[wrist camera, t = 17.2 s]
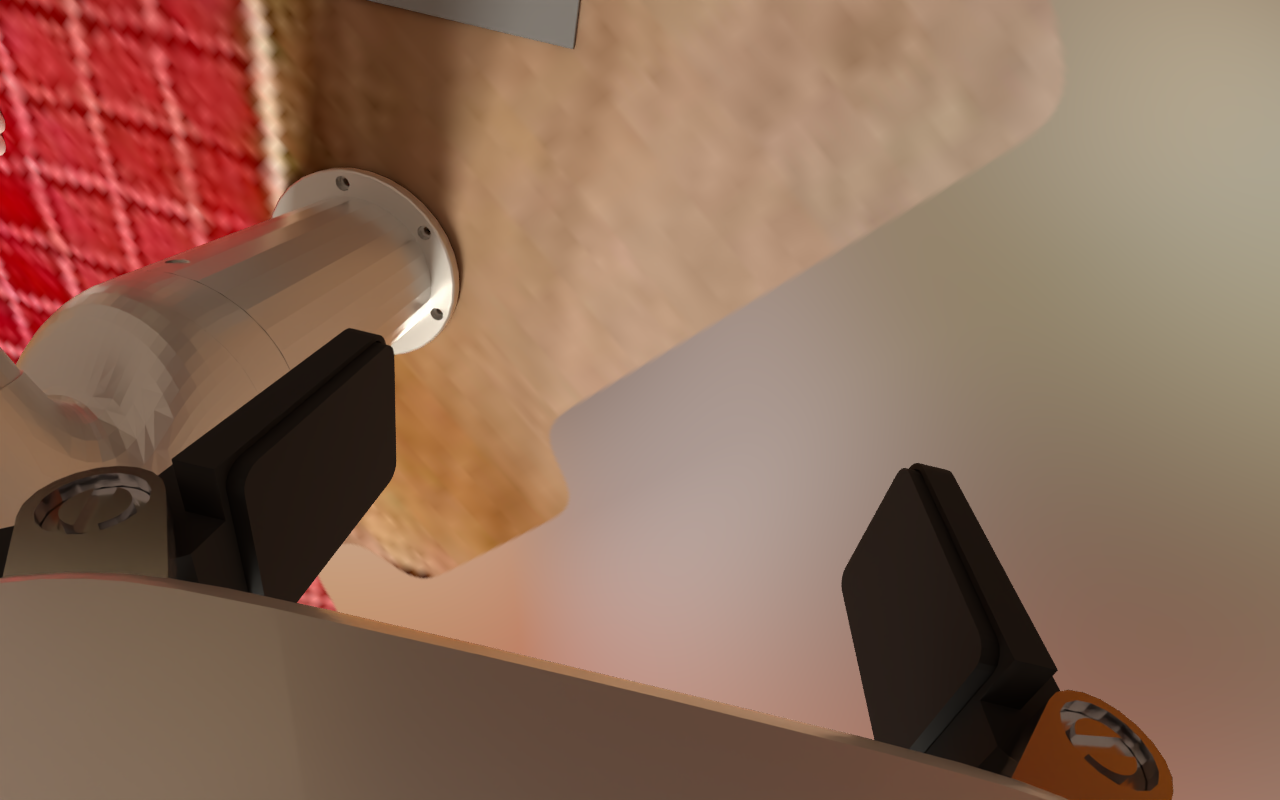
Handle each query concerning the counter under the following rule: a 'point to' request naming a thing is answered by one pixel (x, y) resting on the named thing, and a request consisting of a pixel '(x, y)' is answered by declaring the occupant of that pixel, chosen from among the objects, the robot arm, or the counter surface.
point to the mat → (506, 16)
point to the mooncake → (0, 143)
